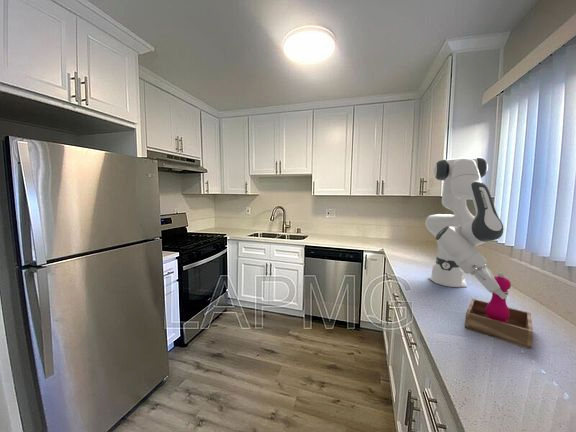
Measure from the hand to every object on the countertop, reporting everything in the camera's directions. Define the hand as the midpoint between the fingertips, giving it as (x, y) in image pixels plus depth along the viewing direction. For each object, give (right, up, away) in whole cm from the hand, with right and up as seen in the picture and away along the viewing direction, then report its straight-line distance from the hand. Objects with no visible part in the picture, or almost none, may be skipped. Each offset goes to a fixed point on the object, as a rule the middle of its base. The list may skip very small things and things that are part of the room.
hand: (502, 293), depth 92 cm
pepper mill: (0, -13, +3) cm, 13 cm away
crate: (-1, -14, +2) cm, 14 cm away
